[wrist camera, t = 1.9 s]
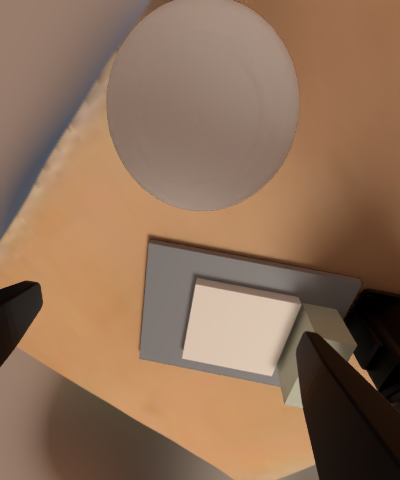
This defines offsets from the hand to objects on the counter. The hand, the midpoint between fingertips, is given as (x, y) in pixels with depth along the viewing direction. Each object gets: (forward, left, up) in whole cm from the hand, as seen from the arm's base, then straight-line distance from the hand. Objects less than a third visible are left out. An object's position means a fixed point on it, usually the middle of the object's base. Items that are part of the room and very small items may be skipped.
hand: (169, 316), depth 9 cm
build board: (-5, +11, -13) cm, 18 cm away
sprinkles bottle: (0, -6, -13) cm, 15 cm away
